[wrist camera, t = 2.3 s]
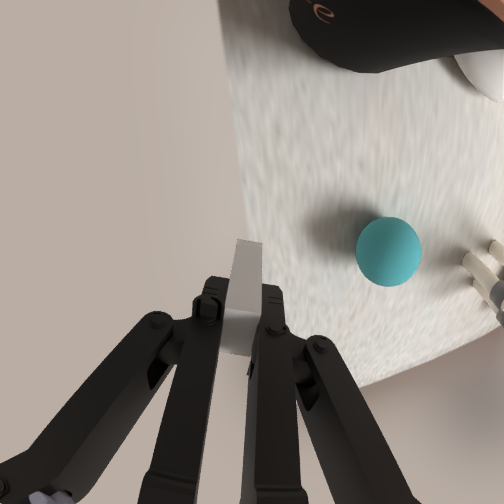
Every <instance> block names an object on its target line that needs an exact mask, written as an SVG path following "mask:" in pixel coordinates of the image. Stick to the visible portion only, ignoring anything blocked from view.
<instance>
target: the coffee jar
mask: <svg viewBox="0 0 504 504" xmlns="http://www.w3.org/2000/svg"><path fill="white" fill-rule="evenodd" d="M289 11H290V15H291V19H292V23H293V26H294V27H295V29H296V30H297V32H298V33H299V35H300V37H301V38H302V40H303V41H304V42H305V43H306V44H307V45H308V46H309V47H310V48H311V49H313V50H314V51H315V52H316V53H317V54H318V55H319V56H321V57H322V58H324V59H326V60H328V61H330V62H331V63H333V64H335V65H336V66H338V67H341V68H345V69H348V70H352V71H355V72H358V73H380V72H384V71H387V70H391V69H394V68H398V67H402V66H406V65H410V64H414V63H418V62H422V61H427V60H431V59H436V58H441V57H446V56H452V55H458V54H465V53H472V52H480V51H489V50H501V49H504V0H290V3H289Z"/></svg>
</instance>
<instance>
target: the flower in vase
mask: <svg viewBox="0 0 504 504" xmlns="http://www.w3.org/2000/svg"><path fill="white" fill-rule="evenodd" d="M454 57H455V59H456V61H457V63H458V65H459V67H460V68H461V70H462V71H463V73H464V74H465V76H466V77H467V79H468V80H469V81H470V82H471V83H472V84H473V85H474V86H475V88H476V89H477V90H478V91H479V92H481V93H482V94H483V95H484V96H486V97H487V98H489V99H491V100H493V101H496V102H504V49H501V50H489V51H480V52H472V53H465V54H458V55H454Z"/></svg>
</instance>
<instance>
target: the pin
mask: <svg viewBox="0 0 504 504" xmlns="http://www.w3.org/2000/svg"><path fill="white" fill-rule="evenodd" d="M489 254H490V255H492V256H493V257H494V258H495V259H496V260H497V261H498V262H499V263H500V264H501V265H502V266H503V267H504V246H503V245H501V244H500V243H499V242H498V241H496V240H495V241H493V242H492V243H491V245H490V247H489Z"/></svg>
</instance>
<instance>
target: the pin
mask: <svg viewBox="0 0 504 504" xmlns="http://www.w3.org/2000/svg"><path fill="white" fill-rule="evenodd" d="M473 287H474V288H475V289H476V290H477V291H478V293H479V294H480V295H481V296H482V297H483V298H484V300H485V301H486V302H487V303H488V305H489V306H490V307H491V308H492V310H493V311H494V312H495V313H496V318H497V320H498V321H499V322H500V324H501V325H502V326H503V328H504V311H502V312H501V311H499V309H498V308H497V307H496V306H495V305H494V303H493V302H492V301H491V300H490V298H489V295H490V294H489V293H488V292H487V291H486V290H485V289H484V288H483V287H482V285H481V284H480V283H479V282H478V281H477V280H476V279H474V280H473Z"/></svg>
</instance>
